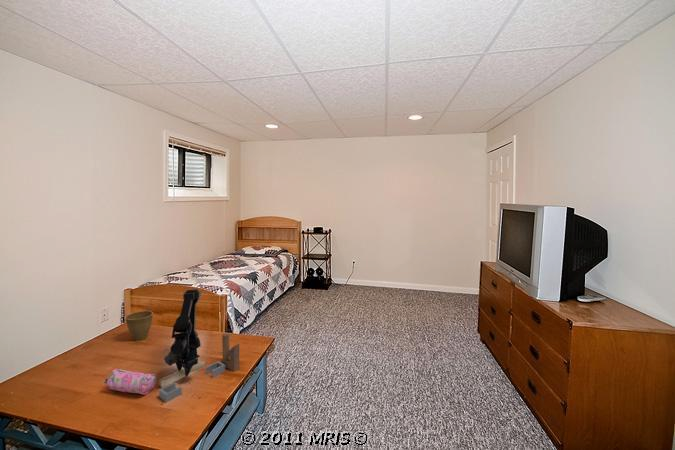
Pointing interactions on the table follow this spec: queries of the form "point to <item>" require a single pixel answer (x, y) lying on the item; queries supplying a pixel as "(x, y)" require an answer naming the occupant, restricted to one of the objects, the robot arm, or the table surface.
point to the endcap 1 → (170, 392)
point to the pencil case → (130, 381)
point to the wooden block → (230, 354)
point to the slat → (180, 374)
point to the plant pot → (139, 324)
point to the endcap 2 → (215, 368)
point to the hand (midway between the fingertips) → (183, 373)
